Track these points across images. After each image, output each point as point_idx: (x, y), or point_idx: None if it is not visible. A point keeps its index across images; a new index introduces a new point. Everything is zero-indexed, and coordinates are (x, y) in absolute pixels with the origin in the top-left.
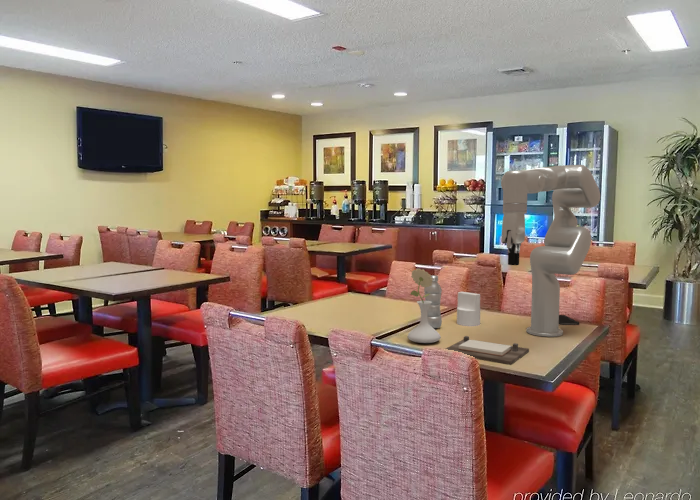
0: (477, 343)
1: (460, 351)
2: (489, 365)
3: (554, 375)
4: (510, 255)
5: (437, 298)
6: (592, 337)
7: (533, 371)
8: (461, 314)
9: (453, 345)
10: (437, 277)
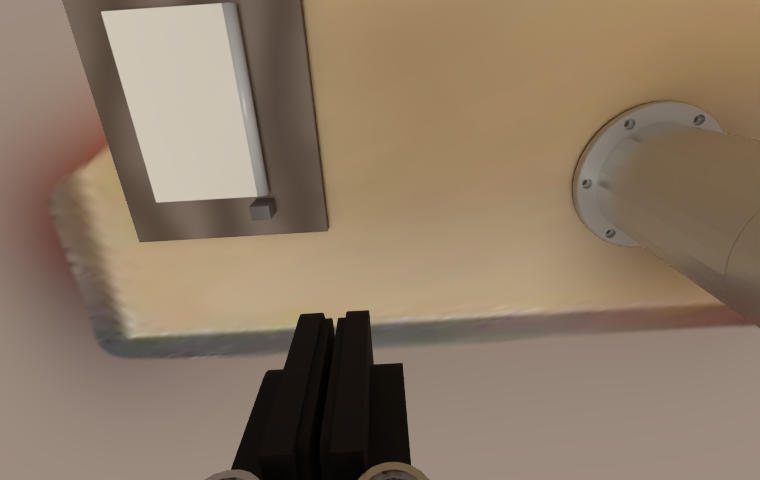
0: (191, 68)
1: (94, 35)
2: (82, 187)
3: (154, 354)
4: (239, 461)
5: None
6: (643, 324)
7: (140, 306)
8: None
9: None
10: None
